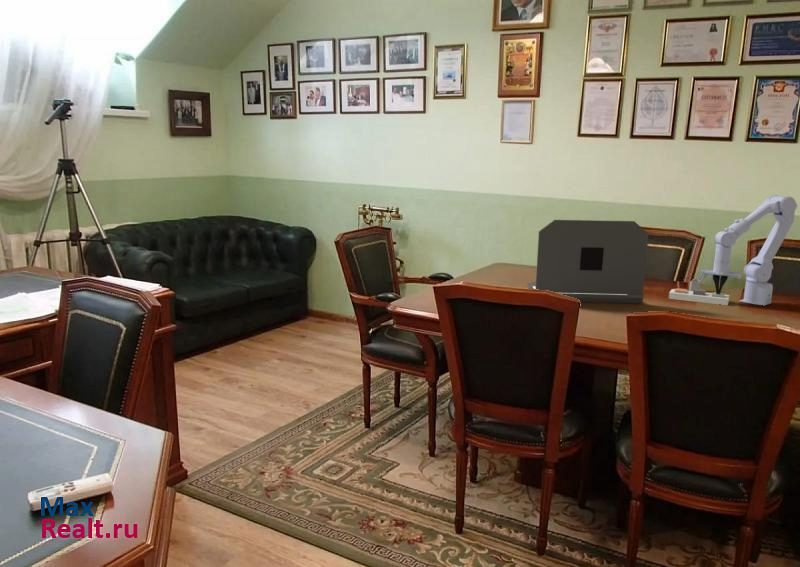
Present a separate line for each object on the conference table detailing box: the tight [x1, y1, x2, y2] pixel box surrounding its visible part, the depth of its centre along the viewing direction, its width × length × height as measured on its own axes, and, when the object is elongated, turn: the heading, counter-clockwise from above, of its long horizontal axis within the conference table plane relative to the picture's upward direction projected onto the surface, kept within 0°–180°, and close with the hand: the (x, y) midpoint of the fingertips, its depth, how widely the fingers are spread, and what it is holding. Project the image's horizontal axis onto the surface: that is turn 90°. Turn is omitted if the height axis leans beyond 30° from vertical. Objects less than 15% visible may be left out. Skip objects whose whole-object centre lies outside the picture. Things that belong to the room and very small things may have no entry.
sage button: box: [711, 291, 725, 298], centre depth 252 cm, size 4×4×3 cm
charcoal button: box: [693, 288, 707, 296], centre depth 256 cm, size 4×4×3 cm
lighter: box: [688, 274, 708, 291], centre depth 273 cm, size 7×2×8 cm, turn 100°
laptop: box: [525, 219, 650, 304], centre depth 260 cm, size 43×31×34 cm
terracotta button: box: [674, 288, 688, 294], centre depth 259 cm, size 4×4×3 cm
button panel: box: [668, 288, 730, 306], centre depth 256 cm, size 22×9×2 cm, turn 60°
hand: (718, 293), depth 252 cm, fingers closed, pressing on sage button
